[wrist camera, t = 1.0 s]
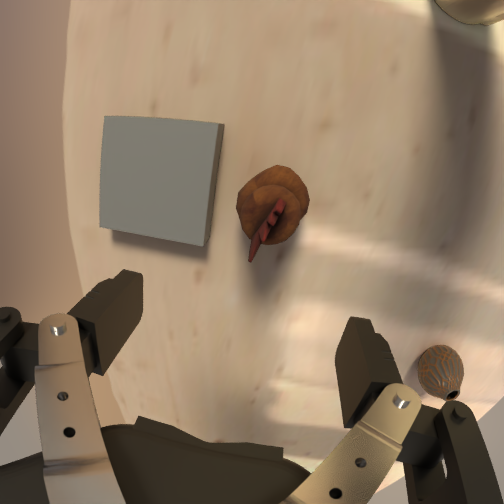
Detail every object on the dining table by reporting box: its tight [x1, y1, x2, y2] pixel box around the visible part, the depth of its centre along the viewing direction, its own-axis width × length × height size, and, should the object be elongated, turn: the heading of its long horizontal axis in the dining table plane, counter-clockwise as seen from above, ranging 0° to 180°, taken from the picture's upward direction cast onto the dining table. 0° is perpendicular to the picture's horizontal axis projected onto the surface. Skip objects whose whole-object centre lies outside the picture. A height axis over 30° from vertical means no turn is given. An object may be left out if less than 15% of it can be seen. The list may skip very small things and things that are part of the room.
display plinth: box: [100, 116, 224, 246], centre depth 33 cm, size 13×13×3 cm
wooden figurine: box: [236, 165, 310, 263], centre depth 27 cm, size 7×6×15 cm
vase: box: [418, 345, 464, 402], centre depth 36 cm, size 7×7×9 cm
